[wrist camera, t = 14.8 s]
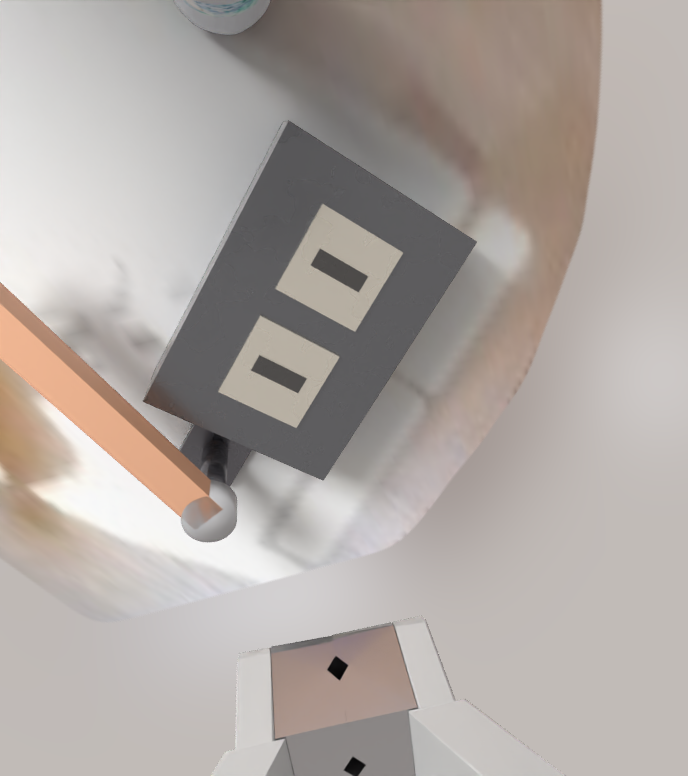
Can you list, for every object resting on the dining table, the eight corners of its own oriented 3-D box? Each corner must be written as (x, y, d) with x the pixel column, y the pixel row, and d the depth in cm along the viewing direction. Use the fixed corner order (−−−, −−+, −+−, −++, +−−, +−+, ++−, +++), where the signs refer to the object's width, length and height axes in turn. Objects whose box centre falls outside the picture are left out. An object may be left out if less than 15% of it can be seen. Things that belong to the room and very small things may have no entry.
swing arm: (247, 502, 42) (248, 522, 40) (208, 531, 43) (206, 553, 41) (-54, 214, 33) (-76, 220, 30) (-101, 256, 33) (-126, 265, 31)
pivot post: (173, 459, 49) (161, 515, 42) (201, 409, 48) (193, 458, 41) (229, 483, 50) (227, 539, 43) (258, 435, 49) (260, 486, 42)
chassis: (155, 369, 46) (141, 403, 40) (282, 121, 40) (289, 120, 35) (314, 442, 50) (323, 483, 44) (448, 228, 45) (479, 242, 39)
